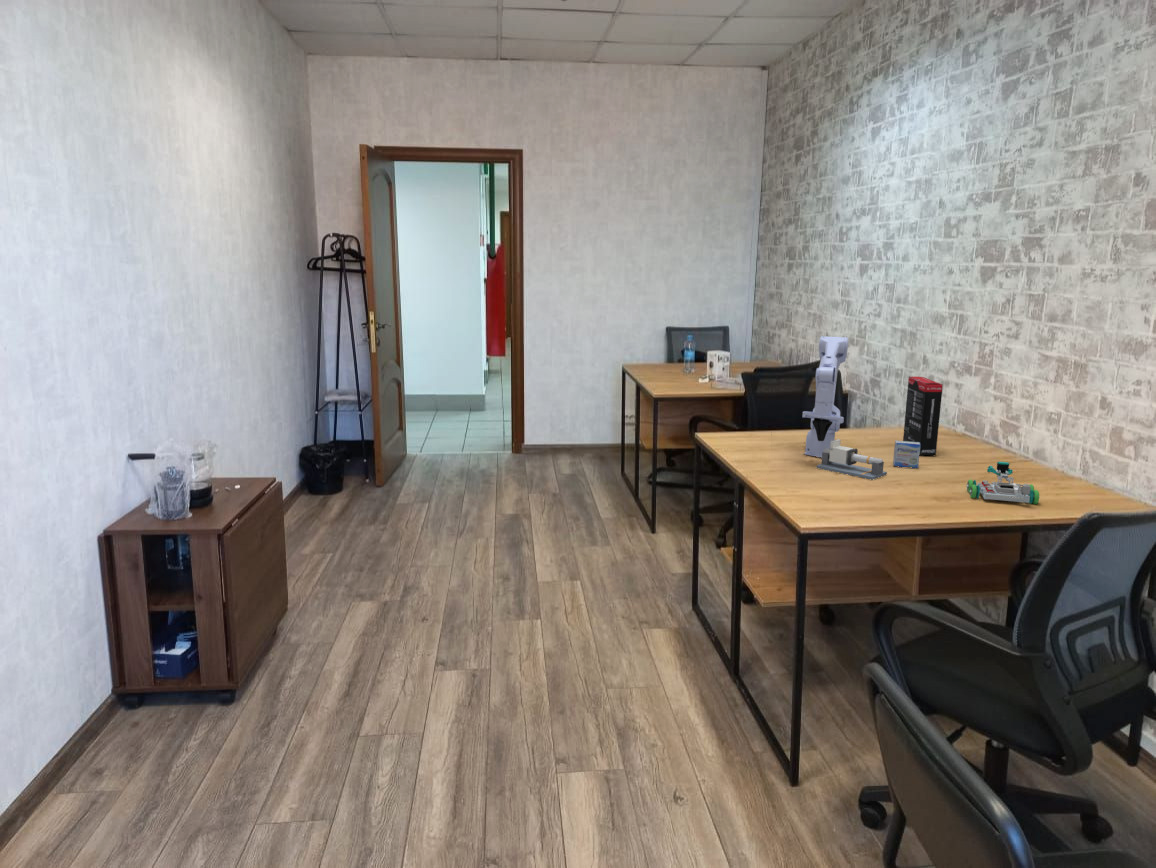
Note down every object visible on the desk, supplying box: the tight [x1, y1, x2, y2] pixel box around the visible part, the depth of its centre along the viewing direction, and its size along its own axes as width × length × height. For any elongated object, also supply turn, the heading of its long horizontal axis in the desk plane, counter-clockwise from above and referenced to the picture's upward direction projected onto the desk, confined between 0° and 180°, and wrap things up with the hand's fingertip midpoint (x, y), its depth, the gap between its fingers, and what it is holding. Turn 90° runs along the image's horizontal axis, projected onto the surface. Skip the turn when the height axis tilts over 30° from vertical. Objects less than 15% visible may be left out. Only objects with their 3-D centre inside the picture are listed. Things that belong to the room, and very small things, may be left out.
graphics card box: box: [902, 376, 944, 455], centre depth 294 cm, size 17×7×27 cm, turn 179°
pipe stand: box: [816, 448, 888, 481], centre depth 266 cm, size 20×10×6 cm, turn 43°
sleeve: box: [829, 438, 855, 465], centre depth 268 cm, size 6×5×7 cm
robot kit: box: [966, 461, 1040, 505], centre depth 242 cm, size 19×25×9 cm
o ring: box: [847, 448, 858, 466], centre depth 266 cm, size 1×5×5 cm, turn 133°
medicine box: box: [892, 440, 921, 469], centre depth 274 cm, size 8×4×9 cm, turn 73°
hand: (820, 440), depth 273 cm, fingers closed
